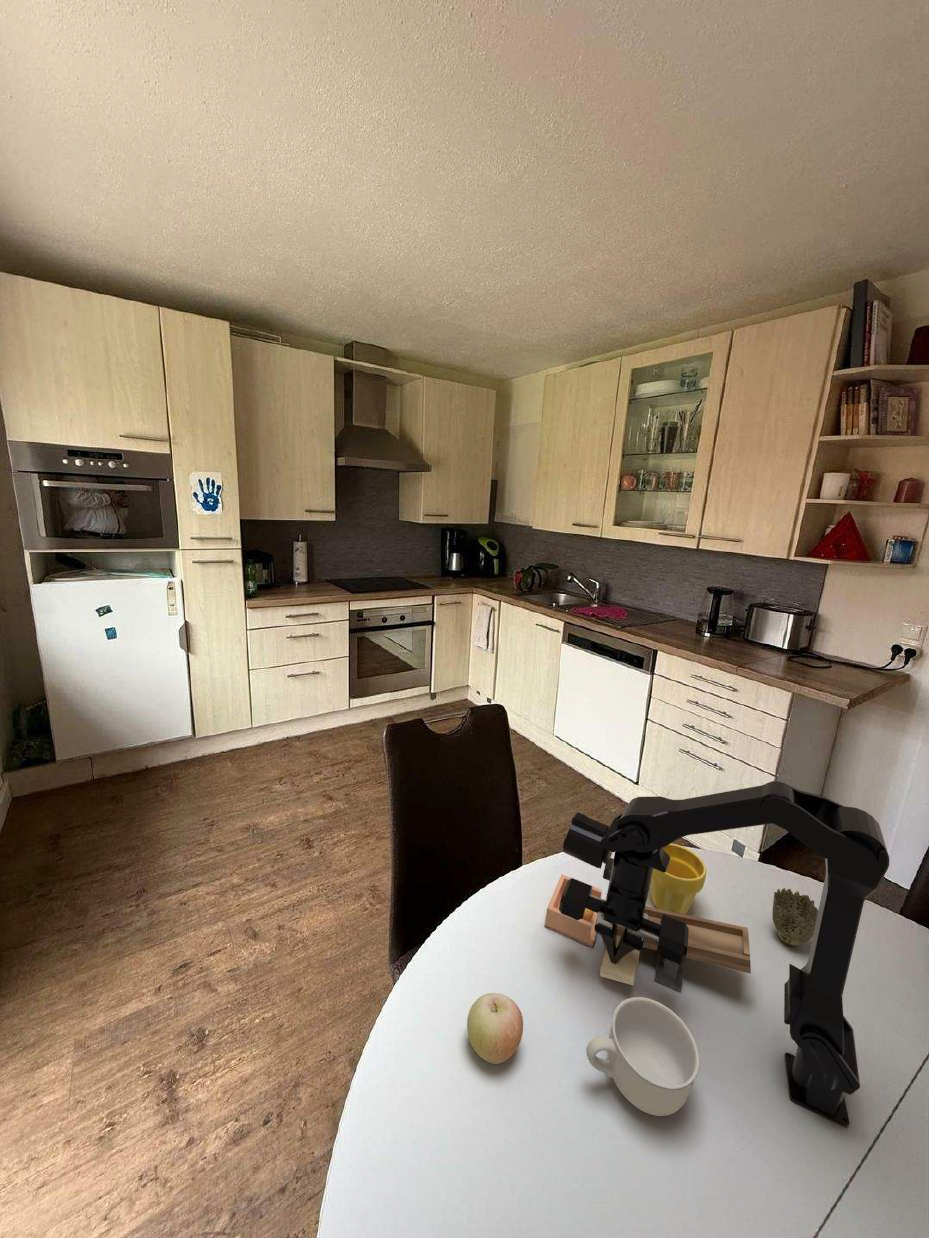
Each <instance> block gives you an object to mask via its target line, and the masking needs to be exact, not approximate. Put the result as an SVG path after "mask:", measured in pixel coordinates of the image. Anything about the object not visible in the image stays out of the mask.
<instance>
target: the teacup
mask: <svg viewBox="0 0 929 1238" xmlns="http://www.w3.org/2000/svg"><path fill="white" fill-rule="evenodd" d="M609 1031H610V1032H609V1035H608V1036H609V1037H608V1036H604V1035H599V1036H596V1037H593V1038H592V1039H591V1040H590V1041H589V1042H588V1043H587V1046H586V1050H585V1051H586V1056H587V1060H588V1061H589V1063H590V1065H591V1066H592V1068H594V1069H595V1070H597V1071H599V1072H602V1073H604V1074H605V1075H606V1076H607V1077H609V1078H612V1080H613V1081H614V1083H615V1085H616V1087H617V1088H618V1090H619V1091H620V1093H621V1094H622V1095H623V1097H624V1098H625V1099H626V1100H627V1101H628V1102H630V1104H632V1105H633V1106H634V1107H635V1108H637V1109H639V1110H640V1111H642V1112H644V1113H647V1114H649V1115H651V1116H656V1117H657V1116H658V1117H665V1116H669V1115H670V1116H671V1115H672V1114H674V1113H676V1112H678V1111H679V1110H680V1109H681V1108H682V1107H683V1106H684V1104H686V1101H687V1099H688V1098H689V1094H690V1093H691V1090H692V1087H693V1084H694V1082H695V1080H696V1078H697V1076H698V1073H699V1070H700V1054H699V1049H698V1045H697V1042H696V1040H695V1038H694V1036H693V1034H692V1032H691V1030H690V1029H689V1027H688V1026H687V1025H686V1024H685V1022H684V1021H683V1020H682V1018H681V1017H680V1016H678V1015H677V1014H676V1013H675V1012H674V1011H673V1010H672V1009H670V1008H669V1007H668V1006H666V1005H664V1004H663V1003H661V1002H659V1001H656V1000H654V999H652V998H649V997H648V998H647V997H643V996H634V997H629V998H626V999H624V1000H622V1001H621V1002H619V1004H618V1005H617V1006H616V1007H615V1010H614V1012H613V1013H612V1019H611V1027H610V1030H609ZM602 1051H603V1052H604V1051H606V1052H607V1053H606V1054H607V1055H606V1057H607V1059H604V1058H602V1057H599V1056H598V1054H599V1053H601V1052H602Z"/></svg>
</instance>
